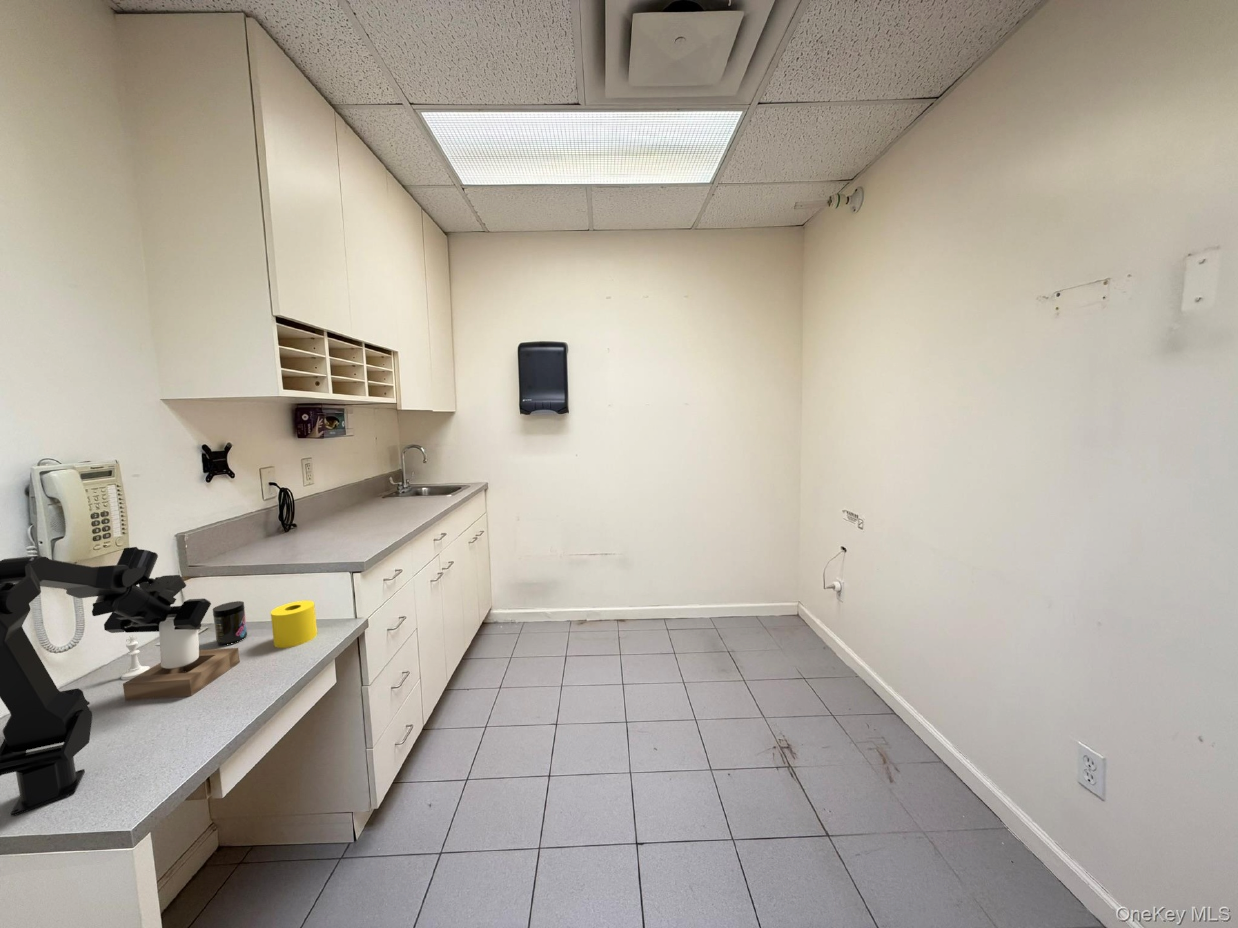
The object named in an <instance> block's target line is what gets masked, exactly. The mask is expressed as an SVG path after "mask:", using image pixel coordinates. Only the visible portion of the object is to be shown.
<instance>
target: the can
mask: <svg viewBox="0 0 1238 928" xmlns="http://www.w3.org/2000/svg"><path fill="white" fill-rule="evenodd" d="M174 618H175V617H168V618H167V619H166V620H165V621H164V622H160V624H159V632H158V634H159V637H158V639H159V652H160V655H159V656H160V663H161V666H162V667H163V668H165V669H175V668H180V667H184V666H187V665H189V664H191V663H193V662H195V661H196V660H197V659H198V657H199V650H200V648H199V647H200V645H199V629H198V630H174V628H175V627H176V626H174V622H173V620H174Z"/></svg>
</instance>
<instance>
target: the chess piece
mask: <svg viewBox="0 0 1238 928" xmlns="http://www.w3.org/2000/svg"><path fill="white" fill-rule="evenodd" d="M137 639H138V638H137V636H133V635H130V636H129V638H128V639H126V641H125V642H128V643H127V644H125V646H126V648H127V649H128V650H129V652H128V653H126V656H130V663H129V664H130V665H129V666H130V668H128V670H127V671H125V672H123V673H122V674H121V680H124V681H125V680H127V681H129V680H131V679H132V678H134V677H136V676H138V675H140V674H141V673H143V672H145V671H147V670H148V669H150V666H148V665H144V666H143V665H141V663H140V662H139V658H138V654H139V653H140V652H141V651H140V650H139V649H138V644H139V642H138V641H134V640H137Z"/></svg>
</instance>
